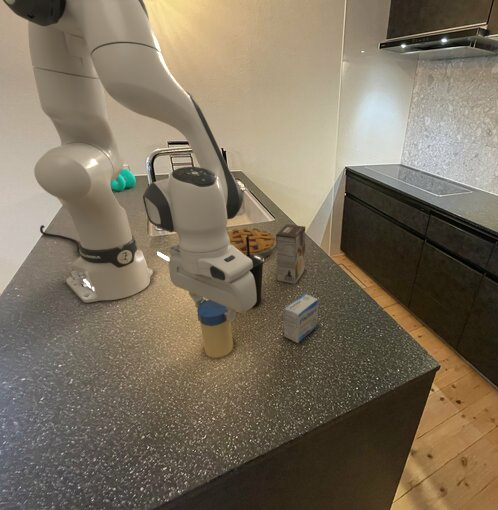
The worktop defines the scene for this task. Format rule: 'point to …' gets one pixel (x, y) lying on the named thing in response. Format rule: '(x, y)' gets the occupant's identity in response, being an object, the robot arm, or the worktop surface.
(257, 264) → the drinking cup
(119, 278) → the robot arm
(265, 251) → the pie
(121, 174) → the teal lumpy blob
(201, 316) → the lid
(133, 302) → the worktop surface
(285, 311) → the medicine box
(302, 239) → the coffee box
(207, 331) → the jar
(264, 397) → the worktop surface
